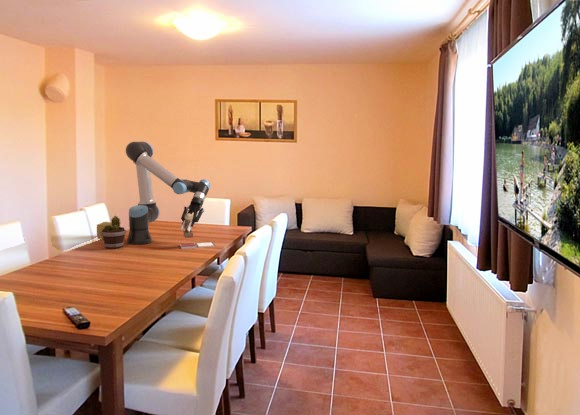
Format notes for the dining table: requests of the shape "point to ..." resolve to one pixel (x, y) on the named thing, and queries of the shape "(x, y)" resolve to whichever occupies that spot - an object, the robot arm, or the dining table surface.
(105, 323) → the dining table surface
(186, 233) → the stamp
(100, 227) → the cheese
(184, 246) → the ink pad
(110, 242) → the flowerpot
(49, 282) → the dining table surface
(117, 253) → the dining table surface
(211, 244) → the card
